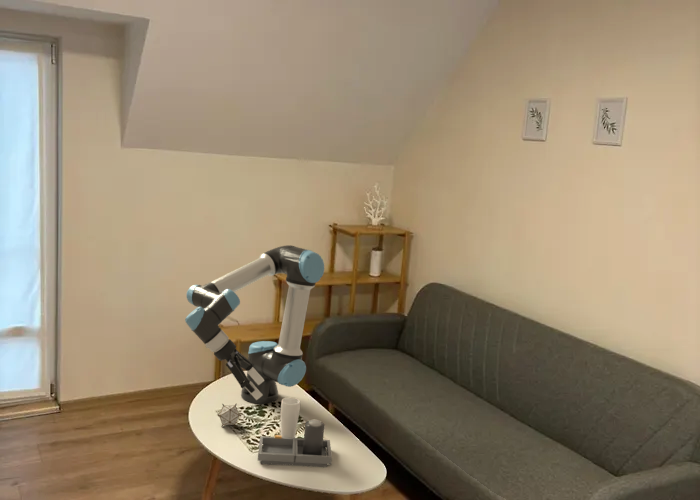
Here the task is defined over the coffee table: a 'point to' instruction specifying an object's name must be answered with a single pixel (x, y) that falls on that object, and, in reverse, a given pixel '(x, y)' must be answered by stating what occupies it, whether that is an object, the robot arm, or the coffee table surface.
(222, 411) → the game die
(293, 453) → the divided desk organizer
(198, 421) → the coffee table surface
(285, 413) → the drinking glass
